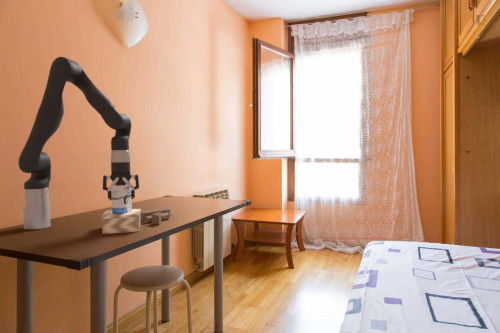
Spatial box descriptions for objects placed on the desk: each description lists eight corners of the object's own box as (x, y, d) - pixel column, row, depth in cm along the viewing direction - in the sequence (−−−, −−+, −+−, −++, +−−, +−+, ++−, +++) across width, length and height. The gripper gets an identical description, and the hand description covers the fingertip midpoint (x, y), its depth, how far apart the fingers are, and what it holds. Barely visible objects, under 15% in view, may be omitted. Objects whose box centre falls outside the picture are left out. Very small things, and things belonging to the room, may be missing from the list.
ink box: (123, 214, 140) (122, 185, 139) (111, 214, 141) (110, 185, 140) (132, 210, 148) (131, 183, 148) (121, 210, 149) (120, 183, 148)
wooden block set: (135, 210, 161) (167, 205, 174) (136, 222, 161) (168, 216, 175) (156, 213, 150) (189, 208, 163) (157, 226, 150) (189, 220, 164)
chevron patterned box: (101, 234, 136) (100, 216, 136) (106, 226, 150) (105, 210, 150) (139, 231, 140) (139, 214, 139) (141, 224, 154) (140, 208, 154)
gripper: (100, 161, 138) (102, 201, 139) (137, 161, 142) (138, 199, 143) (103, 161, 145) (104, 199, 146) (138, 160, 149) (139, 197, 150)
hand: (121, 199), depth 144 cm, fingers open, 8 cm apart
